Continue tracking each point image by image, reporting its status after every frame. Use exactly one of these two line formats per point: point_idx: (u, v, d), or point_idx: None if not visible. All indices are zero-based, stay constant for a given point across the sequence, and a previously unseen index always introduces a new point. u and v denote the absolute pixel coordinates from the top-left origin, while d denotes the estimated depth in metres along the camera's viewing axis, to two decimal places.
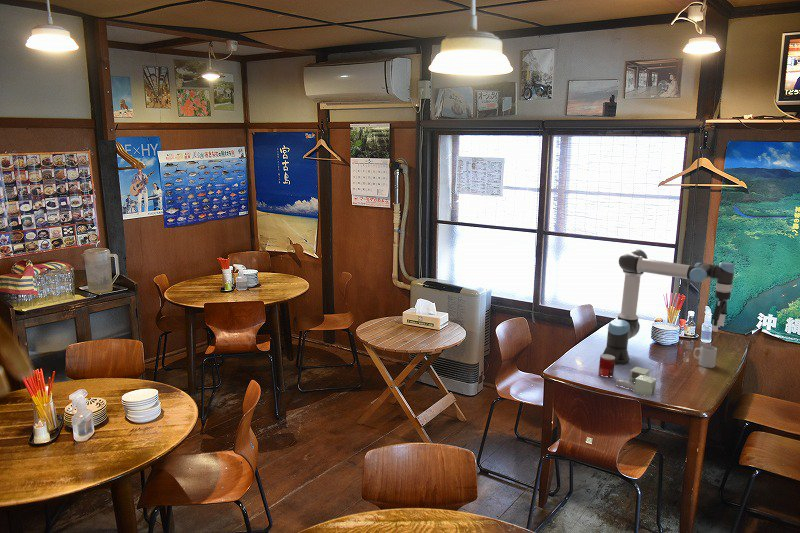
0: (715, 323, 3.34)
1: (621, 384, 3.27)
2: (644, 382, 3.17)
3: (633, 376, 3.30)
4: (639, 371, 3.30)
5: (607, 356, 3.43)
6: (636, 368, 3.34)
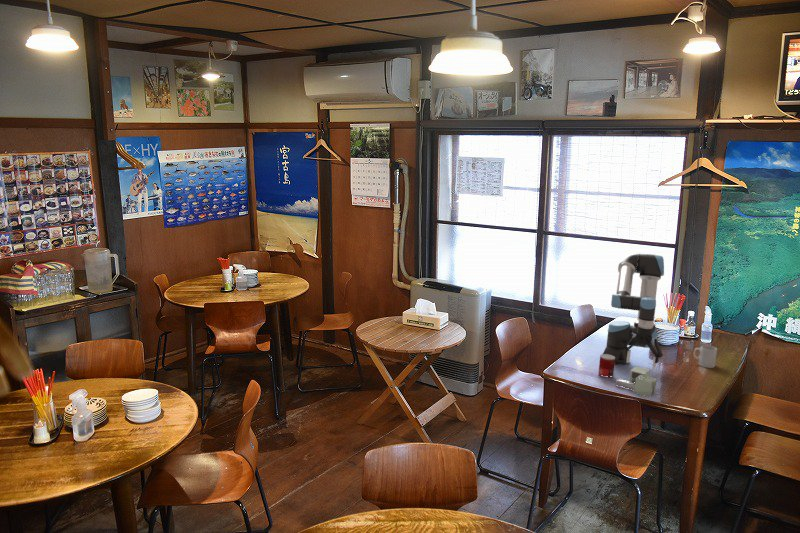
0: None
1: (621, 384, 3.27)
2: (644, 382, 3.17)
3: (633, 376, 3.30)
4: (639, 371, 3.30)
5: (607, 356, 3.43)
6: (636, 368, 3.34)
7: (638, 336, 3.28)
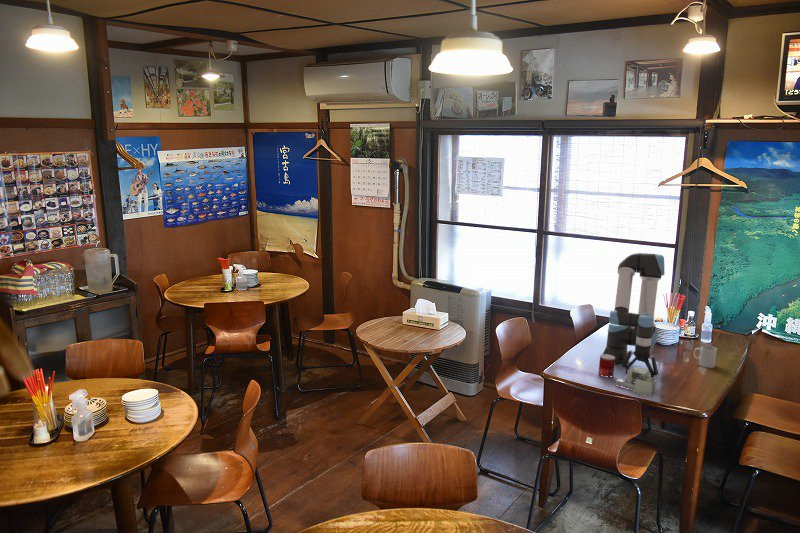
0: None
1: (621, 384, 3.27)
2: (644, 382, 3.17)
3: (633, 376, 3.30)
4: (639, 371, 3.30)
5: (607, 356, 3.43)
6: (636, 368, 3.34)
7: (636, 353, 3.30)
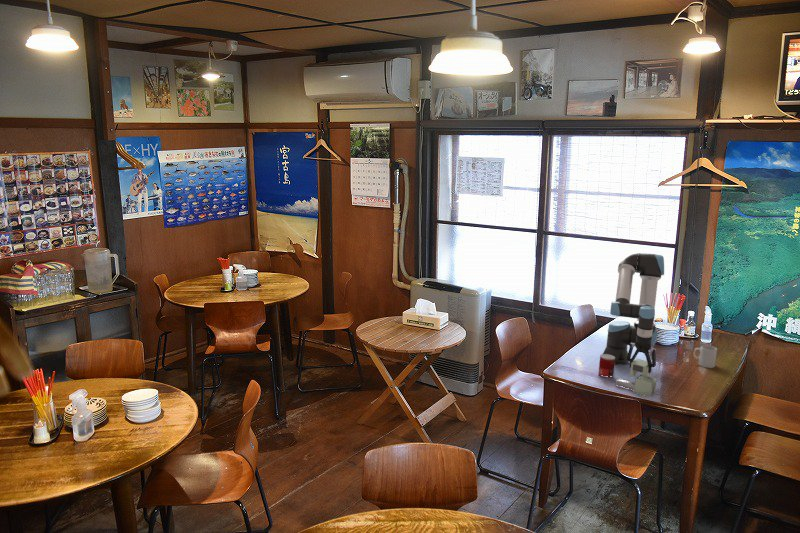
0: None
1: (621, 384, 3.27)
2: (644, 382, 3.17)
3: (634, 368, 3.29)
4: (640, 363, 3.29)
5: (607, 356, 3.43)
6: (637, 360, 3.33)
7: (637, 344, 3.29)
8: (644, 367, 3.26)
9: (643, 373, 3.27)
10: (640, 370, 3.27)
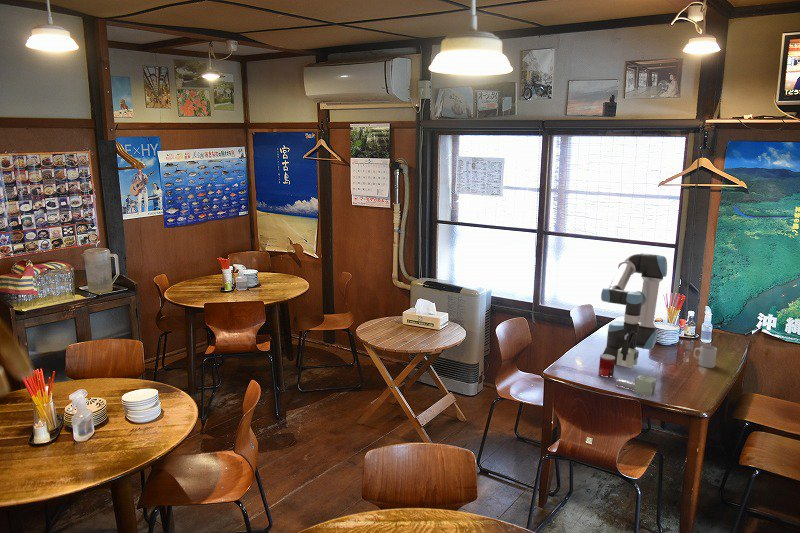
0: (624, 358, 3.20)
1: (621, 384, 3.27)
2: (644, 382, 3.17)
3: (635, 357, 3.20)
4: (632, 350, 3.23)
5: (607, 356, 3.43)
6: None
7: (630, 333, 3.19)
8: None
9: (637, 357, 3.24)
10: (637, 356, 3.22)
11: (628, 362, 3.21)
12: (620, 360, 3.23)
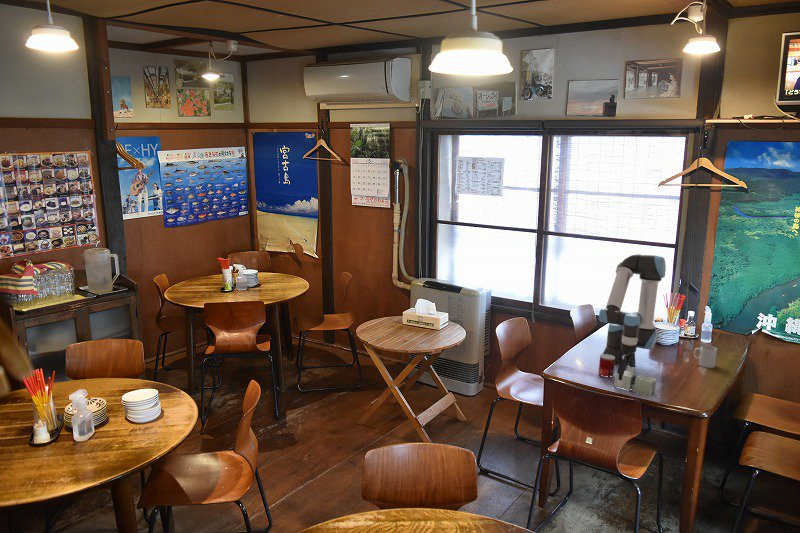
0: (620, 378, 3.20)
1: None
2: (644, 382, 3.17)
3: (632, 381, 3.23)
4: (630, 374, 3.25)
5: (607, 356, 3.43)
6: None
7: (628, 355, 3.21)
8: (635, 374, 3.27)
9: (634, 380, 3.27)
10: (634, 379, 3.25)
11: (625, 385, 3.24)
12: None
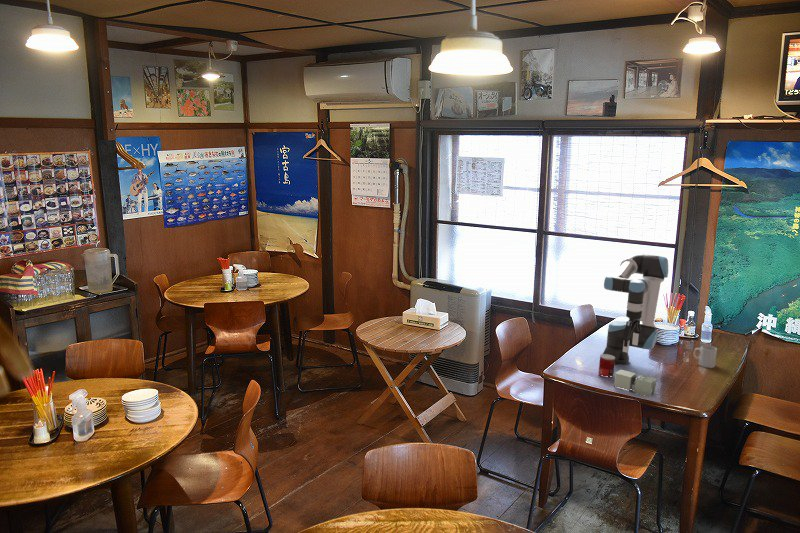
0: (625, 344, 3.21)
1: None
2: (644, 382, 3.17)
3: (632, 381, 3.23)
4: (630, 374, 3.25)
5: (607, 356, 3.43)
6: (621, 373, 3.25)
7: (633, 321, 3.22)
8: (635, 374, 3.27)
9: (634, 380, 3.27)
10: (634, 379, 3.25)
11: (625, 385, 3.24)
12: (617, 383, 3.26)
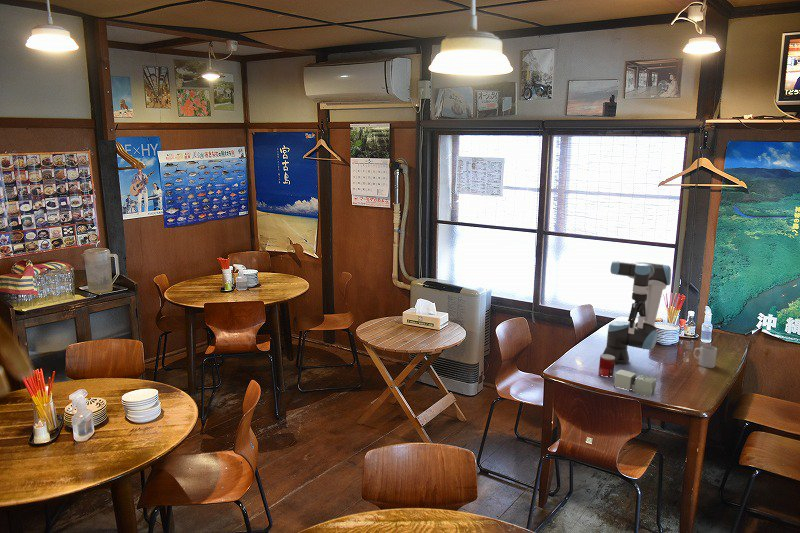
0: (631, 325, 3.30)
1: None
2: (644, 382, 3.17)
3: (632, 381, 3.23)
4: (630, 374, 3.25)
5: (607, 356, 3.43)
6: (621, 373, 3.25)
7: (639, 304, 3.31)
8: None
9: (634, 380, 3.27)
10: None
11: (625, 385, 3.24)
12: (617, 383, 3.26)
